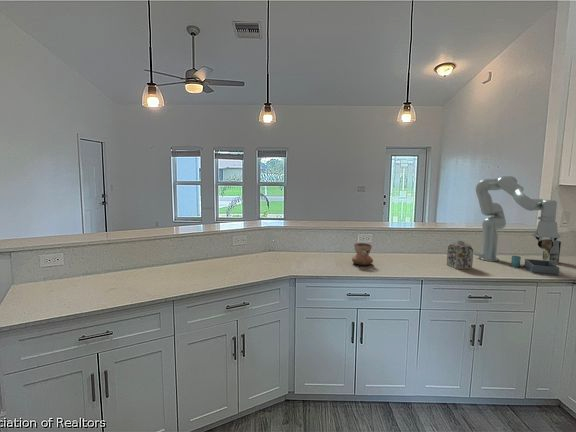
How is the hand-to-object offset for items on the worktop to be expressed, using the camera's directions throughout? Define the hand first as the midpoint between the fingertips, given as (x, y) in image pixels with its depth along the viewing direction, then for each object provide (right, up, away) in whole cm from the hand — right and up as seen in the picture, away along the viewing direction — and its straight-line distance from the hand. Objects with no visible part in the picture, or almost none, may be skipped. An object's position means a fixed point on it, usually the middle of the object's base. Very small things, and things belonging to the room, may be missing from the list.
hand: (545, 246), depth 214 cm
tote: (+1, -16, +6) cm, 17 cm away
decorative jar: (-48, -15, +15) cm, 52 cm away
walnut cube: (0, -1, 0) cm, 1 cm away
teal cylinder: (-9, -15, +15) cm, 23 cm away
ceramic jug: (-113, -14, +22) cm, 116 cm away
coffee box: (+24, -14, +27) cm, 39 cm away
